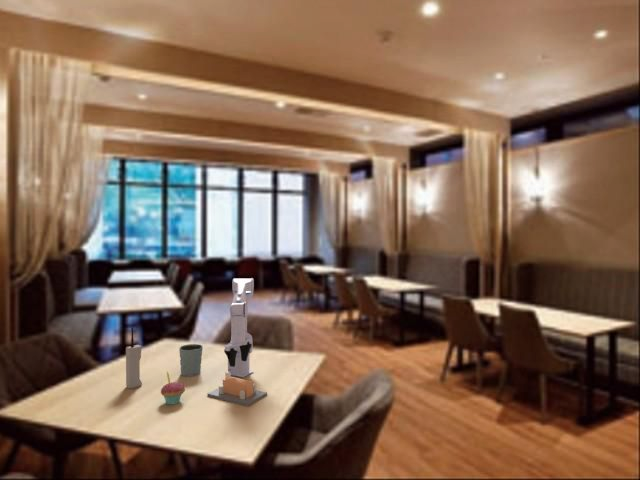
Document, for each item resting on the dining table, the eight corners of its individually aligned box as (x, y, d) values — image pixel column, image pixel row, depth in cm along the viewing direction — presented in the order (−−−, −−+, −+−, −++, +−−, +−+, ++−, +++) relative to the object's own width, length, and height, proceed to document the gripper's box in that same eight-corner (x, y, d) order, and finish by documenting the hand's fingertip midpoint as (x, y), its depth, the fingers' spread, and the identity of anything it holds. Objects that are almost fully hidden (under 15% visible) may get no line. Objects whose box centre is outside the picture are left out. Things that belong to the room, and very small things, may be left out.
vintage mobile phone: (142, 385, 169) (141, 326, 168) (130, 389, 165) (129, 328, 164) (138, 383, 171) (137, 325, 171) (126, 386, 167) (125, 327, 167)
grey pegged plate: (207, 396, 158) (207, 386, 158) (227, 385, 169) (227, 376, 169) (248, 406, 149) (248, 395, 149) (266, 394, 160) (266, 384, 160)
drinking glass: (174, 375, 182) (174, 348, 181) (189, 367, 191) (189, 342, 191) (192, 378, 178) (192, 351, 177) (207, 370, 187) (207, 345, 187)
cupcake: (162, 408, 148) (161, 375, 147) (159, 399, 155) (159, 368, 155) (186, 403, 152) (186, 372, 151) (183, 395, 159) (182, 365, 159)
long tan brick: (222, 392, 160) (222, 373, 160) (229, 388, 164) (229, 370, 163) (246, 397, 154) (246, 378, 154) (253, 394, 158) (253, 375, 158)
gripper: (234, 336, 160) (234, 370, 161) (256, 328, 173) (256, 360, 173) (220, 334, 163) (220, 367, 164) (243, 326, 176) (243, 357, 177)
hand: (238, 363), depth 169 cm, fingers open, 7 cm apart
